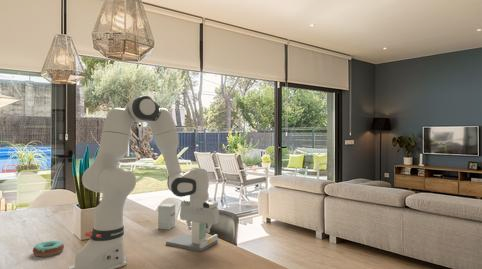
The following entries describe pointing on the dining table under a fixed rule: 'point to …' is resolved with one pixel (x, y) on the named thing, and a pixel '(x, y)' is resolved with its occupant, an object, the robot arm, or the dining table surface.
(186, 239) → the grey panel white edge
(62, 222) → the dining table surface
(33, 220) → the dining table surface
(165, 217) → the supplement box
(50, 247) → the donut
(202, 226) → the carton
